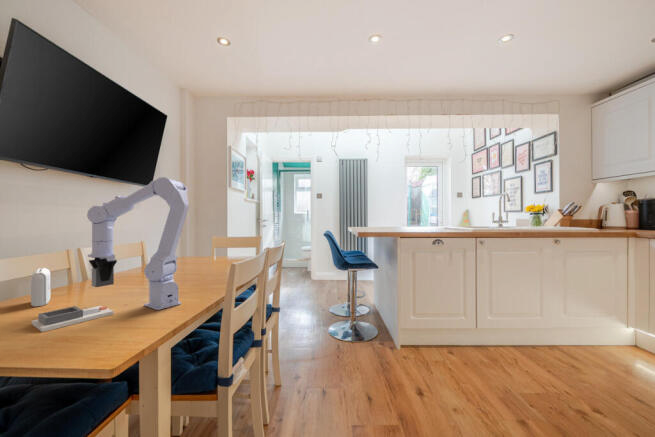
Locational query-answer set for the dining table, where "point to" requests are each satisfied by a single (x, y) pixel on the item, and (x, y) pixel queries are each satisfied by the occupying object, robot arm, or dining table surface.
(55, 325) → the white flat rectangular base
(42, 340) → the dining table surface
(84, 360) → the dining table surface
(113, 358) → the dining table surface
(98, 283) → the gray block
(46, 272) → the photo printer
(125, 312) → the dining table surface
